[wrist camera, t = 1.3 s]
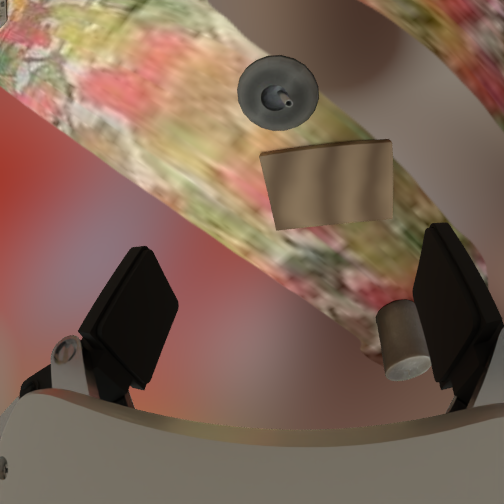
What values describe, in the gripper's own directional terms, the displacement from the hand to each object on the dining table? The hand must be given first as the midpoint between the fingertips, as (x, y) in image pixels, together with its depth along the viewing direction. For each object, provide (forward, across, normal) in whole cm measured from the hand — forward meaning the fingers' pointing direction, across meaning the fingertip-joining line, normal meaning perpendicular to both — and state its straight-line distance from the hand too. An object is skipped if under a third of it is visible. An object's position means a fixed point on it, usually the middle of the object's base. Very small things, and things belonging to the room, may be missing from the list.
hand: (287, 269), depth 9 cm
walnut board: (+31, -4, +11) cm, 33 cm away
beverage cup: (+31, +1, -4) cm, 31 cm away
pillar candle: (+31, -18, +42) cm, 55 cm away
